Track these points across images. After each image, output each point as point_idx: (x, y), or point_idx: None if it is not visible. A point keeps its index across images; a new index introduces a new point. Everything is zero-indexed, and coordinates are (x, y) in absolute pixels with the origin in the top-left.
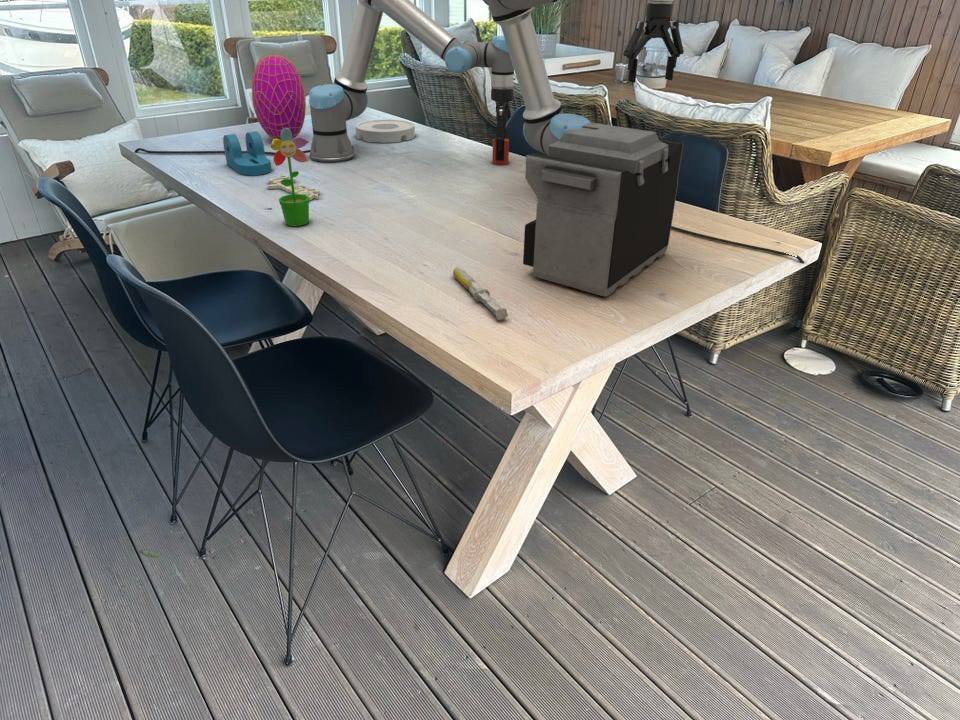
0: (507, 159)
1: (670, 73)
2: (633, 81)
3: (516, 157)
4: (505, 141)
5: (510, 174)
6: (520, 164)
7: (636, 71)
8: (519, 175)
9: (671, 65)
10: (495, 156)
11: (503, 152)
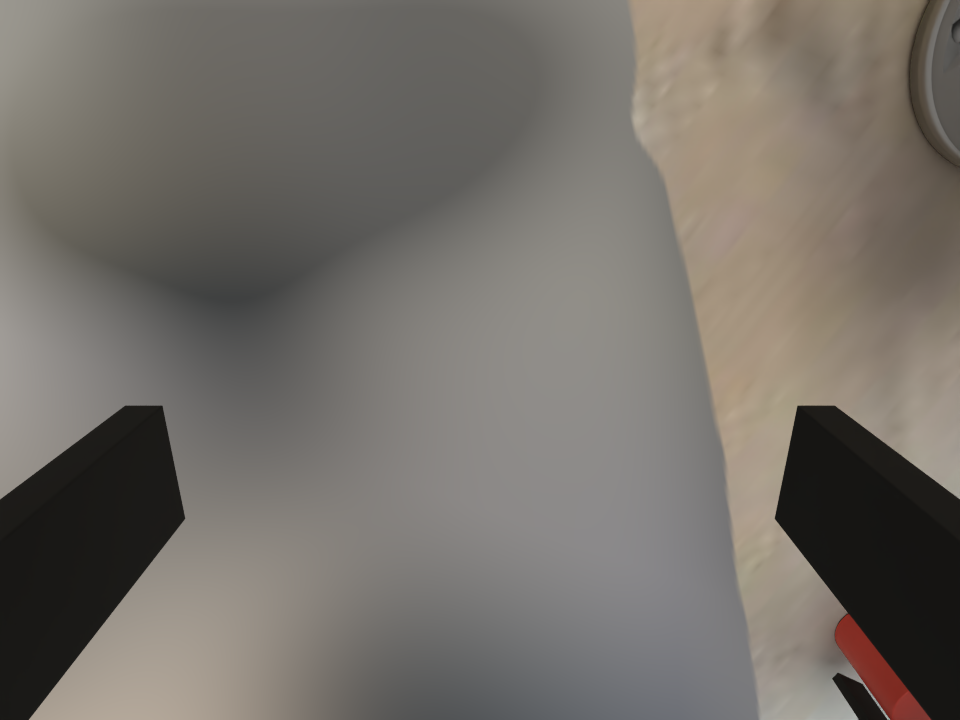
0: None
1: (112, 468)
2: (842, 412)
3: (760, 669)
4: None
5: (948, 484)
6: (813, 588)
7: (904, 488)
8: (927, 460)
9: (19, 556)
10: None
11: None
